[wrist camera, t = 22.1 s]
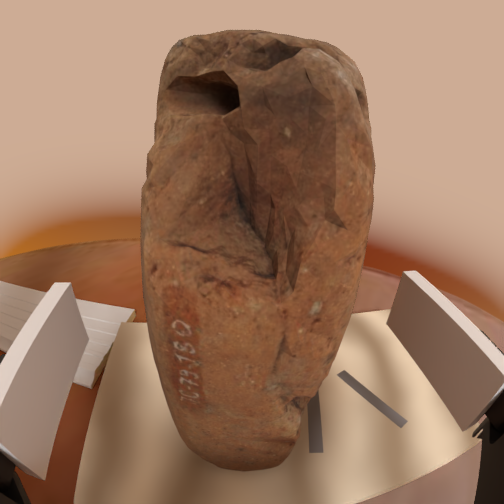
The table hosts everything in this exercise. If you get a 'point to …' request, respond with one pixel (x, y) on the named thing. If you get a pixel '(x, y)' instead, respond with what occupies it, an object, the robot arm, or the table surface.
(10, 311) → the baseboard
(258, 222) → the block
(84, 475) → the board
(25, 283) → the table surface
